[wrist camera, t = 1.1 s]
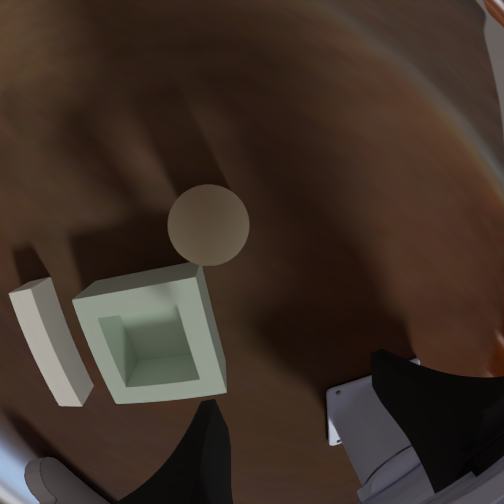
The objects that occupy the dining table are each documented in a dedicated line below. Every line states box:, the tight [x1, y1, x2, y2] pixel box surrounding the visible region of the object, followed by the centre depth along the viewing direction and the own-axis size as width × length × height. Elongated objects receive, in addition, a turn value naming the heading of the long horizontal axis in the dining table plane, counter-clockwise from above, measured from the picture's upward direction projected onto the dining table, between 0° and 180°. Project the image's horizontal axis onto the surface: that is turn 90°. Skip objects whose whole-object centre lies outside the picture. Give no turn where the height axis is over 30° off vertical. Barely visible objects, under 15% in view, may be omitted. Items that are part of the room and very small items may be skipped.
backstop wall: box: [9, 277, 94, 406], centre depth 19 cm, size 2×10×3 cm, turn 10°
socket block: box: [72, 262, 227, 404], centre depth 19 cm, size 8×8×4 cm
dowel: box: [168, 184, 249, 266], centre depth 15 cm, size 3×3×8 cm
